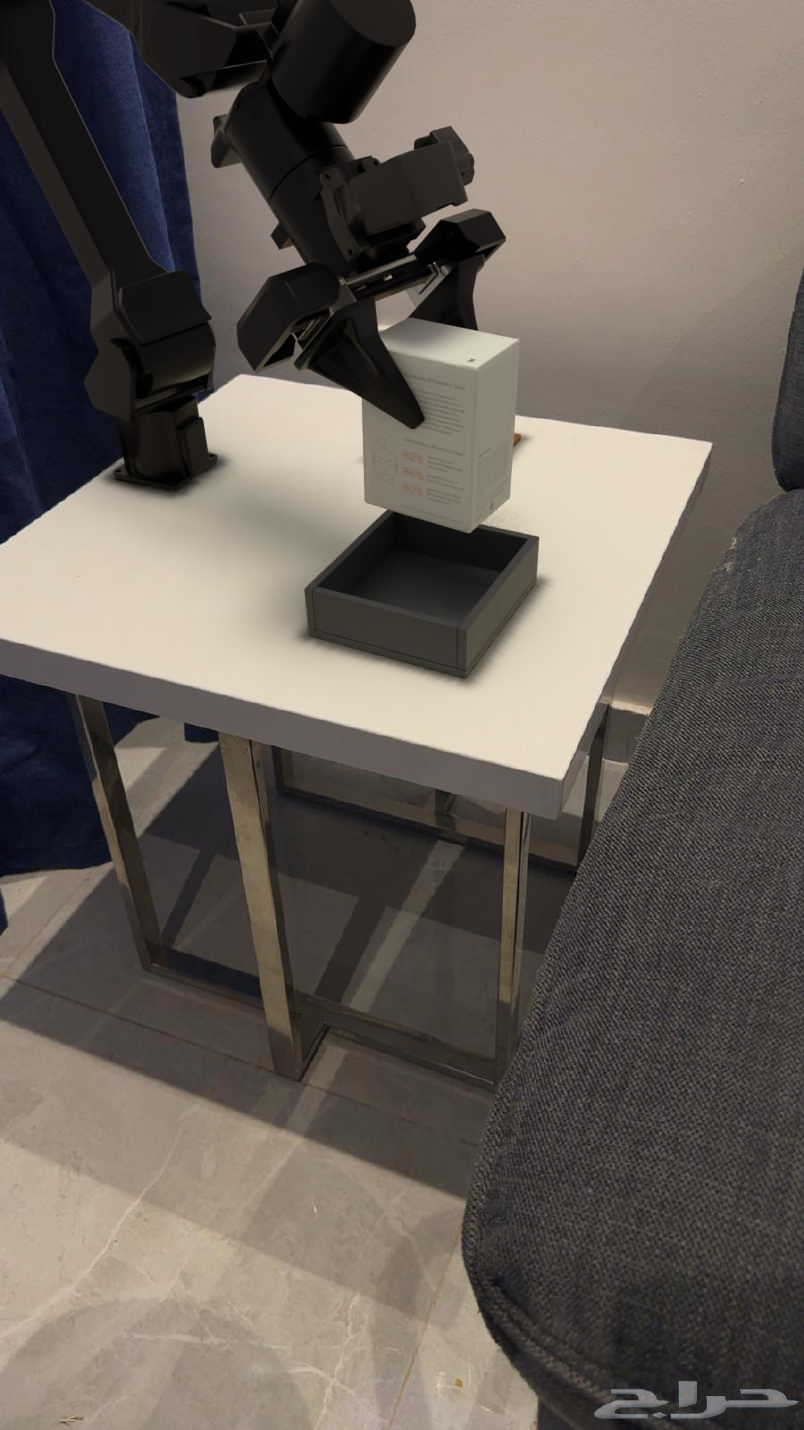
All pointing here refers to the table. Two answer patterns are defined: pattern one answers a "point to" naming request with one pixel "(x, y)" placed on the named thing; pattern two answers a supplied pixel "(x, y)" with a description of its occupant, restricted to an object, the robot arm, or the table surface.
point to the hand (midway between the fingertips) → (452, 408)
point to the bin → (423, 591)
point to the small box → (445, 426)
